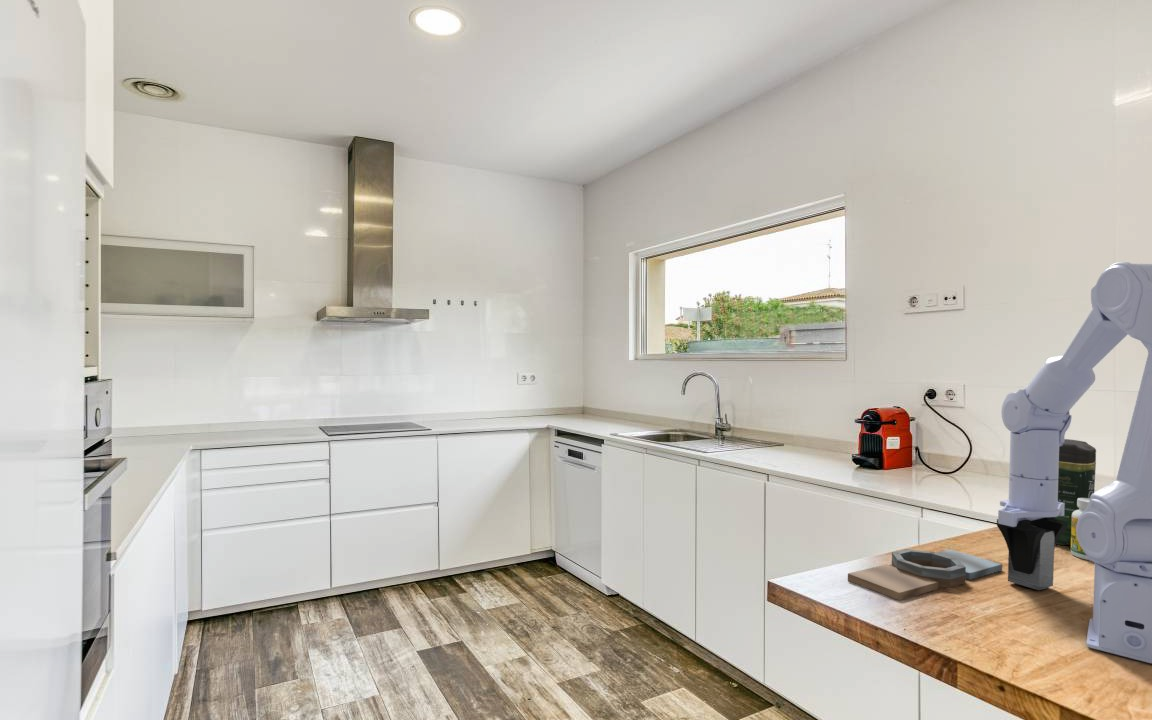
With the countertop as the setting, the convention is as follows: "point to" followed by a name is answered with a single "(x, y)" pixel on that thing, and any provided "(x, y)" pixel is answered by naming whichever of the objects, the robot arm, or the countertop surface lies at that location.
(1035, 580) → the grey metal brick
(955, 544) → the countertop surface
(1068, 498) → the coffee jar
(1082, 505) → the supplement bottle
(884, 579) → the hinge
